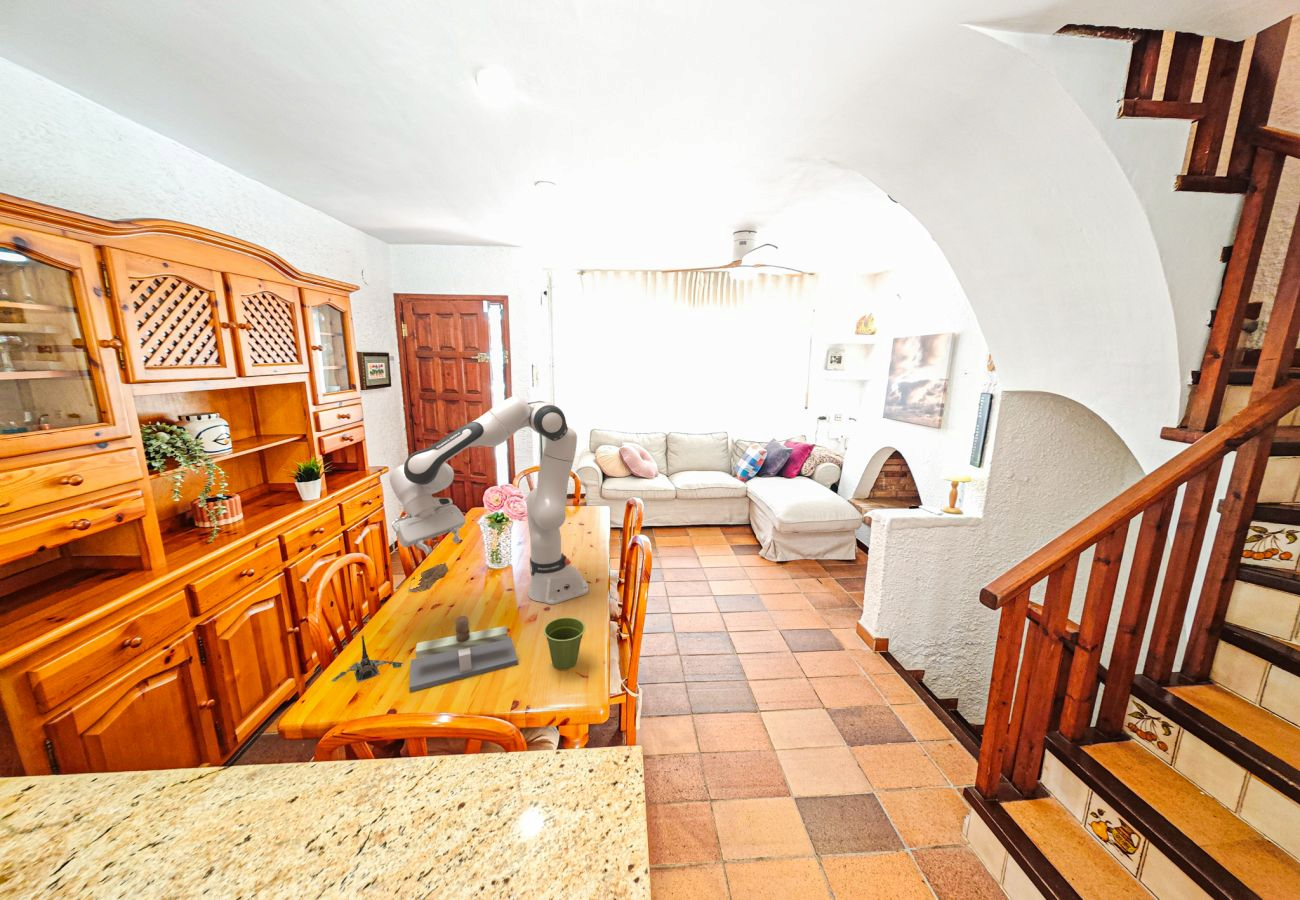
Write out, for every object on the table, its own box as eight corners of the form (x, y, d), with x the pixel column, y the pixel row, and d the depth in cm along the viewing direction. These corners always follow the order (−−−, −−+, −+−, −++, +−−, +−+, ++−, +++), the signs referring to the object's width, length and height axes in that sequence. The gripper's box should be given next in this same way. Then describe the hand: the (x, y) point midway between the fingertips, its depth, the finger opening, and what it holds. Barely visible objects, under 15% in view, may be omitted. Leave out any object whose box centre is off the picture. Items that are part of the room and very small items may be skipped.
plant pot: (588, 672, 131) (588, 637, 129) (545, 679, 128) (545, 643, 125) (582, 646, 142) (582, 614, 140) (543, 653, 139) (542, 619, 137)
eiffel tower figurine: (405, 664, 133) (401, 623, 130) (382, 689, 123) (377, 645, 121) (357, 659, 135) (352, 618, 132) (330, 684, 125) (324, 640, 122)
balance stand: (511, 640, 144) (510, 622, 143) (518, 664, 134) (517, 644, 132) (411, 664, 132) (409, 644, 131) (409, 692, 122) (407, 670, 120)
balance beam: (506, 631, 138) (505, 607, 136) (507, 639, 134) (506, 614, 133) (417, 649, 129) (415, 623, 127) (416, 658, 125) (413, 632, 124)
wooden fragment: (423, 595, 170) (423, 592, 170) (395, 592, 171) (395, 590, 171) (459, 564, 195) (459, 561, 195) (434, 562, 196) (434, 560, 196)
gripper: (392, 515, 134) (414, 554, 131) (455, 496, 151) (476, 531, 148) (386, 526, 138) (407, 565, 134) (448, 507, 154) (469, 540, 151)
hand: (444, 547), depth 141 cm, fingers open, 8 cm apart
